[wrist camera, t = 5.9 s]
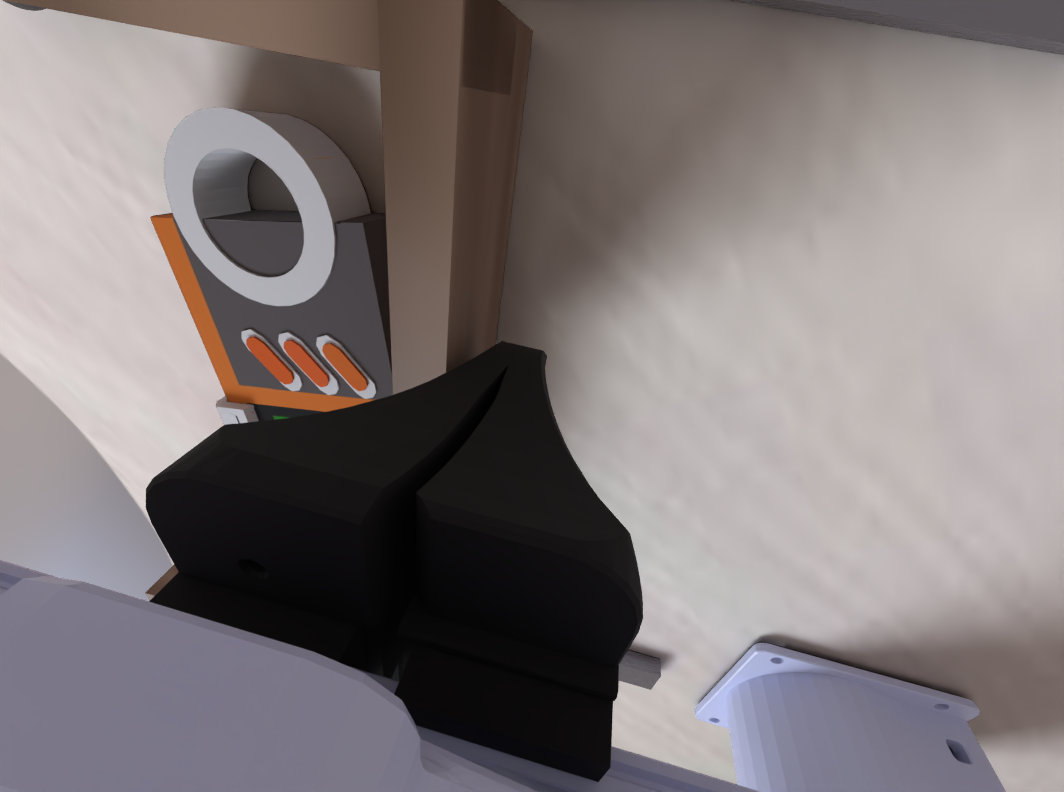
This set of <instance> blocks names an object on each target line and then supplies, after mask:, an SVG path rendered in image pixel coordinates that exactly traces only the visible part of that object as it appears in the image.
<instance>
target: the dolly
mask: <svg viewBox="0 0 1064 792" xmlns="http://www.w3.org/2000/svg"><path fill="white" fill-rule="evenodd" d="M3 1H5V2H7V3H9V4H11V5H13V6H16V7H18V8H22V9H26V10H33V11H37V10H43V9H46V8H47V9H53V10H58V11H63V12H68V13H74V14H79V15H84V16H90V17H95V18H100V19H106V20H111V21H116V22H121V23H127V24H132V25H137V26H143V27H148V28H153V29H159V30H164V31H169V32H175V33H180V34H185V35H190V36H196V37H201V38H206V39H212V40H217V41H222V42H228V43H233V44H238V45H244V46H249V47H254V48H259V49H265V50H270V51H275V52H281V53H286V54H291V55H297V56H302V57H307V58H313V59H318V60H323V61H328V62H334V63H339V64H344V65H350V66H355V67H360V68H366V69H371V70H376V71H380V82H381V107H382V132H383V157H384V182H385V207H386V232H387V256H388V281H389V306H390V331H391V356H392V381H393V395H394V394H397V393H400V392H402V391H405V390H408V389H411V388H413V387H416V386H418V385H421V384H423V383H426V382H428V381H430V380H432V379H434V378H436V377H438V376H440V375H442V374H445V373H447V372H449V371H451V370H453V369H455V368H457V367H459V366H460V365H462V364H464V363H466V362H467V361H469V360H471V359H473V358H474V357H476V356H478V355H479V354H481V353H483V352H484V351H486V350H488V349H489V348H491V347H493V346H494V345H495V344H496V336H497V327H498V319H499V311H500V302H501V294H502V285H503V277H504V268H505V260H506V251H507V243H508V234H509V226H510V218H511V209H512V201H513V192H514V184H515V175H516V167H517V158H518V150H519V142H520V133H521V125H522V116H523V108H524V99H525V91H526V82H527V74H528V65H529V57H530V49H531V40H532V32H533V31H532V30H531V29H530V28H529V27H527V26H526V25H525V24H524V23H523V22H522V21H521V20H519V19H518V18H517V17H516V16H515V15H514V14H513V13H511V12H510V11H509V10H508V9H507V8H506V7H505V6H503V5H502V4H501V3H500V2H499V1H498V0H3ZM177 573H178V570H177V568H176V566H175V564H174V565H173V566H172V567H171V568H170V569H169V570H168V571H167V572H166V573H165V574H164V575H163V576H162V577H161V578H160V579H159V580H158V581H157V582H156V583H155V584H154V585H153V586H152V587H151V588H150V589H149V590H148V591H147V592H146V593H145V594H146V595H147V597H148V598H149V600H151V599H152V598H153V597H154V596H155V595H156V594H157V593H158V592H159V591H160V590H161V589H162V588H163V587H164V586H165V585H166V584H167V583H168V582H169V581H170V580H171V579H172V578H173V577H174V576H175V575H176V574H177Z"/></svg>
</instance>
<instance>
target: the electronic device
mask: <svg viewBox="0 0 1064 792" xmlns="http://www.w3.org/2000/svg"><path fill="white" fill-rule="evenodd" d="M257 158H258V159H260V160H261V161H263V162H264V163H265V164H266V165H268V166H269V167H270V168H271V169H272V170H273V171H274V172H275V173H276V174H277V175H278V176H279V177H280V178H281V180H282V181H283V182H284V184H285V185H286V187H287V188H288V189H289V191H290V192H291V194H292V196H293V198H294V200H295V202H296V204H297V207H298V209H299V211H269V210H251V208H250V203H249V199H248V190H247V184H248V175H249V172H250V169H251V166H252V165H253V163H254V162H255V160H256V159H257ZM164 179H165V185H166V191H167V197H168V200H169V203H170V206H171V209H172V212H173V213H169V214H162V215H155V216H151V217H150V218H151V221H152V223H153V226H154V228H155V230H156V233H157V235H158V237H159V240H160V242H161V244H162V247H163V249H164V251H165V254H166V256H167V259H168V261H169V263H170V266H171V268H172V270H173V273H174V275H175V277H176V280H177V282H178V285H179V287H180V289H181V292H182V294H183V296H184V299H185V301H186V303H187V306H188V308H189V310H190V313H191V315H192V318H193V320H194V322H195V325H196V327H197V329H198V332H199V334H200V336H201V339H202V341H203V343H204V346H205V348H206V351H207V353H208V355H209V358H210V360H211V362H212V365H213V367H214V369H215V372H216V374H217V377H218V379H219V381H220V384H221V386H222V388H223V391H224V393H225V395H226V396H225V397H223V398H222V399H220V400H219V401H217V403H216V408H217V411H218V413H219V415H220V417H221V420H222V422H223V424H224V425H225V424H238V423H247V422H257V421H266V420H275V419H284V418H292V417H299V416H305V415H311V414H316V413H322V412H328V411H332V410H337V409H342V408H347V407H351V406H355V405H358V404H362V403H366V402H370V401H373V400H377V399H381V398H384V397H388V396H391V395H393V381H392V356H391V331H390V306H389V281H388V256H387V232H386V213H371V212H370V207H369V203H368V200H367V196H366V192H365V190H364V188H363V185H362V183H361V181H360V178H359V176H358V174H357V172H356V171H355V169H354V168H353V166H352V164H351V163H350V161H349V159H348V158H347V157H346V156H345V154H344V153H343V152H342V151H341V150H340V148H339V147H338V146H337V145H336V144H335V143H334V142H333V141H332V140H331V139H330V138H329V137H328V136H326V135H325V134H324V133H323V132H322V131H321V130H319V129H318V128H316V127H314V126H313V125H311V124H309V123H308V122H306V121H304V120H301V119H299V118H296V117H293V116H290V115H286V114H277V113H267V112H258V111H248V110H238V109H228V108H218V107H213V108H207V109H202V110H198V111H196V112H194V113H192V114H190V115H189V116H187V117H185V118H184V119H183V120H182V121H181V122H180V123H179V125H178V126H177V127H176V128H175V129H174V131H173V133H172V135H171V137H170V139H169V141H168V144H167V149H166V154H165V159H164ZM256 220H263V221H256ZM274 221H300V222H274Z"/></svg>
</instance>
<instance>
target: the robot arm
mask: <svg viewBox="0 0 1064 792" xmlns="http://www.w3.org/2000/svg"><path fill="white" fill-rule="evenodd" d="M546 359H547V355H546V354H545V352H544V351H542V350H537V349H533V348H529V347H525V346H520V345H516V344H512V343H508V342H503V341H501V342H500V343H498V344H496V345H494V346H493V347H491V348H489V349H488V350H486V351H484V352H483V353H481V354H479V355H478V356H476V357H474V358H473V359H471V360H469V361H467V362H466V363H464V364H462V365H460V366H459V367H457V368H455V369H453V370H451V371H449V372H447V373H445V374H442V375H440V376H438V377H436V378H434V379H432V380H430V381H428V382H426V383H423V384H421V385H418V386H416V387H413V388H411V389H408V390H405V391H402V392H400V393H397V394H394V395H391V396H388V397H384V398H381V399H377V400H373V401H370V402H366V403H362V404H358V405H355V406H351V407H347V408H342V409H337V410H332V411H328V412H322V413H316V414H311V415H305V416H299V417H292V418H284V419H275V420H266V421H257V422H247V423H238V424H225V425H224V426H222V427H221V428H220V429H218V430H217V431H215V432H214V433H213V434H211V435H210V436H209V437H207V438H206V439H205V440H203V441H202V442H201V443H199V444H198V445H197V446H195V447H194V448H193V449H191V450H190V451H189V452H187V453H186V454H185V455H183V456H182V457H181V458H179V459H178V460H177V461H175V462H174V463H173V464H171V465H170V466H169V467H167V468H166V469H165V470H163V471H162V472H161V473H159V474H158V475H157V476H155V477H154V478H153V479H152V481H151V482H150V484H149V485H148V487H147V488H146V510H147V512H148V515H149V517H150V520H151V523H152V525H153V526H154V528H155V530H156V532H157V534H158V535H159V537H160V539H161V541H162V543H163V544H164V546H165V548H166V550H167V552H168V553H169V555H170V557H171V559H172V561H173V562H174V564H175V566H176V568H177V570H178V573H177V574H176V575H175V576H174V577H173V578H172V579H171V580H170V581H169V582H168V583H167V584H166V585H165V586H164V587H163V588H162V589H161V590H160V591H159V592H158V593H157V594H156V595H155V596H154V597H153V598H152V599H151V600H150V601H149V602H148V601H145V600H142V599H138V598H135V597H132V596H128V595H125V594H122V593H119V592H115V591H112V590H109V589H105V588H102V587H99V586H96V585H92V584H89V583H85V582H81V581H75V580H69V579H62V578H58V577H54V576H51V575H48V574H44V573H41V572H38V571H35V570H31V569H28V568H25V567H21V566H18V565H15V564H12V563H8V562H5V561H2V560H0V792H1006V791H1005V789H1004V787H1003V786H1002V784H1001V782H1000V780H999V778H998V777H997V775H996V773H995V771H994V769H993V768H992V766H991V764H990V762H989V760H988V758H987V757H986V755H985V753H984V751H983V749H982V748H981V746H980V744H979V742H978V740H977V739H976V737H975V735H974V733H973V731H972V730H971V728H970V726H969V724H968V721H969V720H971V719H973V718H975V717H977V716H978V715H979V714H980V711H979V709H978V707H977V706H976V704H975V703H974V702H973V701H971V700H969V699H966V698H963V697H959V696H955V695H952V694H948V693H945V692H941V691H937V690H934V689H930V688H927V687H923V686H919V685H916V684H912V683H909V682H905V681H901V680H898V679H894V678H891V677H887V676H883V675H880V674H876V673H872V672H869V671H865V670H862V669H858V668H854V667H851V666H847V665H844V664H840V663H836V662H833V661H829V660H826V659H822V658H818V657H815V656H811V655H808V654H804V653H800V652H797V651H793V650H790V649H786V648H782V647H779V646H775V645H772V644H768V643H757V644H755V645H753V646H752V647H751V648H750V650H749V651H748V652H747V653H746V654H745V655H744V656H743V657H742V658H741V659H740V660H739V661H738V662H737V663H736V664H735V666H734V667H733V668H732V669H731V670H730V671H729V672H728V673H727V674H726V675H725V676H724V677H723V678H722V679H721V680H720V681H719V683H718V684H717V685H716V686H715V687H714V688H713V689H712V690H711V691H710V692H709V693H708V694H707V695H706V696H705V697H704V699H703V700H702V701H701V702H700V703H699V704H698V705H697V706H696V707H695V716H696V717H697V718H698V719H699V720H701V721H705V722H708V723H711V724H715V725H718V726H722V727H725V728H728V729H729V733H730V740H731V746H732V753H733V759H734V765H735V772H736V778H737V784H738V785H737V784H734V783H730V782H727V781H724V780H721V779H717V778H714V777H711V776H707V775H704V774H701V773H698V772H694V771H691V770H688V769H684V768H681V767H678V766H675V765H671V764H668V763H665V762H662V761H658V760H655V759H652V758H648V757H645V756H642V755H639V754H635V753H632V752H629V751H625V750H622V749H619V748H616V747H612V746H611V738H612V709H613V701H615V699H616V698H617V694H618V679H619V664H620V662H621V661H622V659H623V657H624V656H625V654H626V652H627V651H628V649H629V647H630V646H631V644H632V642H633V640H634V639H635V637H636V635H637V634H638V632H639V629H640V626H641V623H642V619H643V601H642V590H641V584H640V577H639V571H638V566H637V561H636V556H635V552H634V548H633V544H632V540H631V536H630V533H629V532H628V530H627V529H626V528H625V527H624V526H623V525H622V524H621V522H620V521H619V520H618V519H617V518H616V517H615V516H614V515H613V513H612V512H611V511H610V510H609V509H608V508H607V507H606V506H605V504H604V503H603V502H602V501H601V500H600V499H599V497H598V496H597V495H596V493H595V492H594V491H593V489H592V488H591V486H590V485H589V484H588V482H587V480H586V479H585V477H584V475H583V474H582V472H581V471H580V469H579V467H578V466H577V464H576V462H575V461H574V459H573V457H572V456H571V454H570V452H569V450H568V448H567V446H566V444H565V442H564V439H563V437H562V435H561V432H560V430H559V427H558V425H557V422H556V419H555V416H554V413H553V410H552V406H551V403H550V399H549V394H548V389H547V384H546V377H545V364H546Z"/></svg>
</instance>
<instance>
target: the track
mask: <svg viewBox="0 0 1064 792" xmlns="http://www.w3.org/2000/svg"><path fill="white" fill-rule="evenodd" d="M732 1H738V2H744V3H750V4H756V5H762V6H768V7H774V8H780V9H787V10H793V11H799V12H805V13H811V14H817V15H823V16H829V17H835V18H842V19H848V20H854V21H860V22H866V23H872V24H878V25H884V26H890V27H896V28H903V29H909V30H915V31H921V32H927V33H933V34H939V35H945V36H951V37H958V38H964V39H970V40H976V41H982V42H988V43H994V44H1000V45H1006V46H1012V47H1019V48H1025V49H1031V50H1037V51H1043V52H1049V53H1055V54H1061V55H1064V0H732ZM660 677H661V670H660V659H657V658H654V657H650V656H647V655H643V654H640V653H636V652H633V651H629V650H628V651H627V652H626V654H625V656H624V657H623V659H622V661H621V662H620V664H619V679H618V680H619V681H623V682H626V683H630V684H633V685H637V686H640V687H643V688H647V689H650V690H651V689H652V687H653V686H654V685H655V683H656V682H657V681H658V679H659V678H660Z"/></svg>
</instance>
